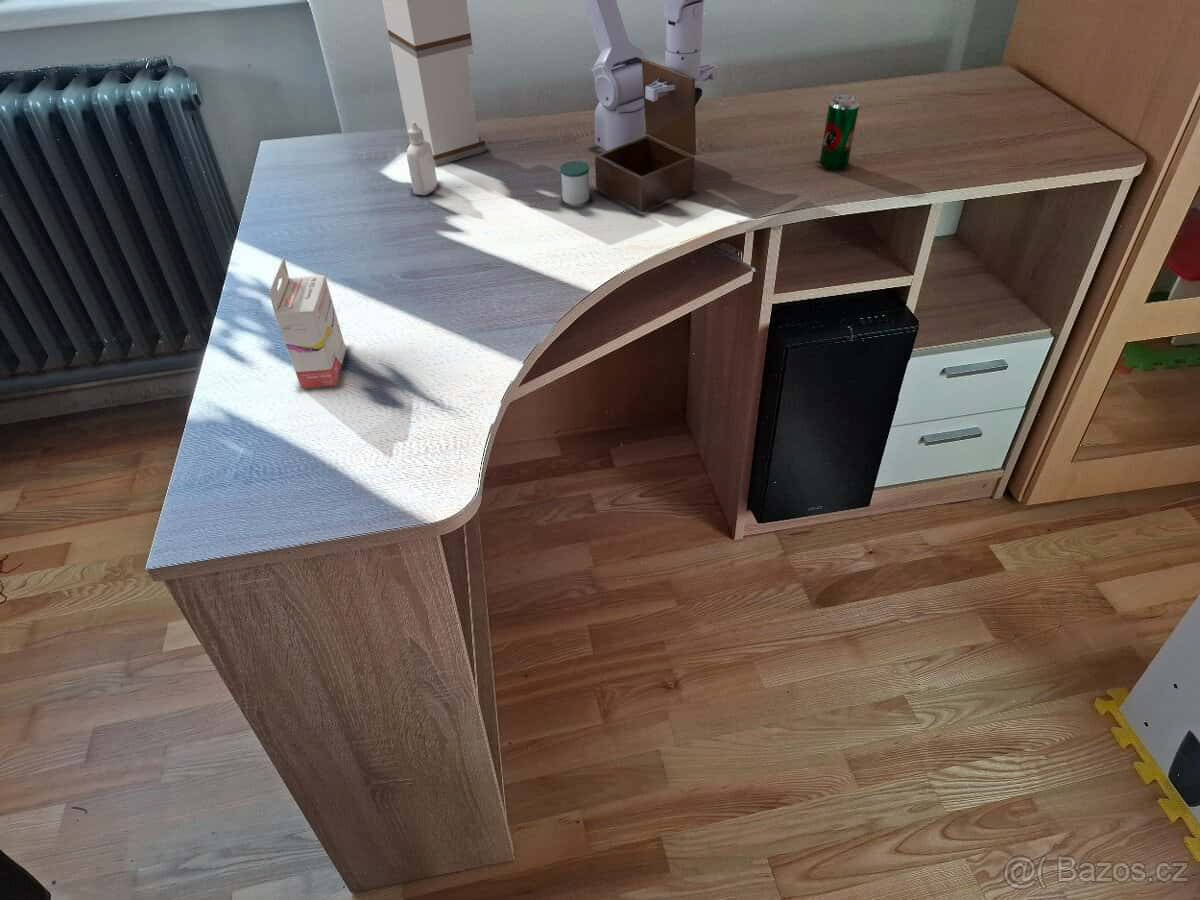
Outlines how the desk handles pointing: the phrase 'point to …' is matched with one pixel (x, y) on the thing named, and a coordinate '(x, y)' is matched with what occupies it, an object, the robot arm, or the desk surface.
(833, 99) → the soda can
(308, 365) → the ink cartridge box
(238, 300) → the desk surface
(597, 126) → the robot arm
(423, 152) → the eye dropper bottle
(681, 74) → the box lid
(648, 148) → the box
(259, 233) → the desk surface
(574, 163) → the container
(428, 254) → the desk surface
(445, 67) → the brown banded pillar
